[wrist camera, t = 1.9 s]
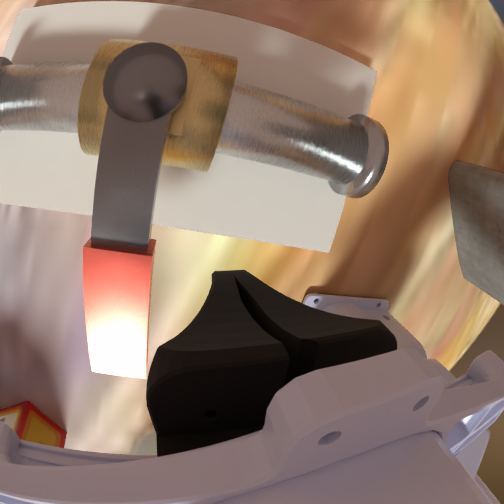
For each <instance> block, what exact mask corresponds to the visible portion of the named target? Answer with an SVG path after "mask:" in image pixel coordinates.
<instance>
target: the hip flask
mask: <svg viewBox="0 0 504 504" xmlns="http://www.w3.org/2000/svg"><path fill="white" fill-rule="evenodd" d="M449 189H450V199H451V208H452V217H453V225H454V232H455V239H456V245H457V251H458V256H459V261H460V266H461V270H462V273H463V277H464V278H465V279H466V280H468V281H469V282H471V283H472V284H474V285H475V286H477V287H478V288H480V289H481V290H483V291H484V292H486V293H487V294H488V295H490V296H491V297H493V298H494V299H496V300H497V301H499V302H500V303H501V304H503V305H504V173H503V172H500V171H496V170H493V169H489V168H485V167H481V166H477V165H474V164H469V163H465V162H461V161H456V162H454V163H453V164H452V166H451V168H450V171H449Z"/></svg>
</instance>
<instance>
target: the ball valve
mask: <svg viewBox="0 0 504 504" xmlns="http://www.w3.org/2000/svg"><path fill="white" fill-rule="evenodd" d="M146 42H150V41H140V40H127V39H109V40H108V41H106V42H105V43H104V44H103V45H102V46H101V47H100V49H99V50H98V51H97V53H96V54H95V56H94V58H93V60H92V61H55V62H35V63H23V64H12V62H11V61H10V60H9V59H8V58H6V57H0V132H1V131H2V130H24V131H50V132H67V133H78V138H79V143H80V146H81V149H82V151H83V152H84V153H85V154H86V155H93V156H99V151H100V145H101V139H102V133H103V128H104V122H105V117H106V113H107V108H108V105H107V103H106V101H105V98H104V94H103V80H104V76H105V73H106V71H107V69H108V67H109V65H110V64H111V62H112V61H113V60H114V59H115V58H116V57H117V56H118V55H119V54H120V53H121V52H123V51H124V50H126V49H127V48H129V47H131V46H134V45H137V44H140V43H146ZM156 43H159V42H156ZM161 44H164V45H167V46H169V47H171V48H173V49H174V50H175V51H176V52H178V53H179V55H180V56H181V57H182V59H183V60H184V62H185V65H186V68H187V75H188V76H187V89H186V94H185V97H184V99H183V102H182V103H181V105H180V106H179V108H178V109H177V110H176V111H175V112H174V113H173V114H172V115H171V119H170V123H169V128H168V133H167V138H166V143H165V148H164V153H163V158H162V164H161V165H166V166H173V167H179V168H185V169H190V170H196V171H201V172H207V171H208V169H209V167H210V165H211V163H212V160H213V157H214V154H215V153H218V154H223V155H228V156H233V157H237V158H242V159H246V160H251V161H255V162H259V163H263V164H268V165H272V166H276V167H280V168H284V169H288V170H291V171H295V172H299V173H303V174H306V175H310V176H313V177H317V178H321V179H324V180H327V181H328V183H329V185H330V187H331V189H332V190H333V191H334V192H335V193H337V194H340V195H344V196H347V197H351V198H361V197H363V196H365V195H367V194H368V193H369V192H371V191H372V190H373V189H374V187H375V186H376V185H377V184H378V182H379V180H380V179H381V177H382V175H383V173H384V170H385V167H386V164H387V160H388V153H389V142H388V136H387V133H386V131H385V129H384V127H383V126H382V125H381V124H380V123H379V122H378V121H376V120H374V119H372V118H369V117H367V116H365V115H363V114H355V115H352V116H350V117H349V118H346V117H343V116H341V115H338V114H336V113H333V112H331V111H328V110H325V109H323V108H320V107H317V106H315V105H312V104H309V103H306V102H303V101H301V100H298V99H295V98H292V97H288V96H285V95H282V94H279V93H276V92H272V91H269V90H266V89H262V88H259V87H255V86H251V85H247V84H244V83H240V82H236V81H235V77H236V72H237V65H238V58H237V57H235V56H231V55H227V54H222V53H218V52H213V51H208V50H203V49H198V48H192V47H187V46H180V45H174V44H167V43H161Z"/></svg>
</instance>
